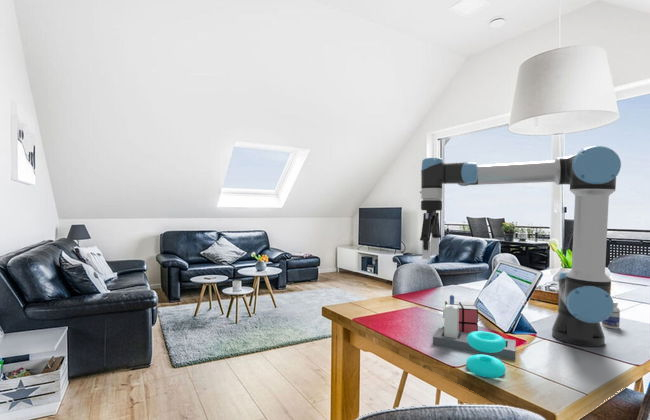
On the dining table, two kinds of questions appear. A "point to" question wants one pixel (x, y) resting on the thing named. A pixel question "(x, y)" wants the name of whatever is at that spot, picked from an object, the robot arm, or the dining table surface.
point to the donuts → (486, 363)
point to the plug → (451, 319)
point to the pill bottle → (613, 318)
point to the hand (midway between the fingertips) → (430, 256)
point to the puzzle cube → (467, 316)
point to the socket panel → (464, 345)
